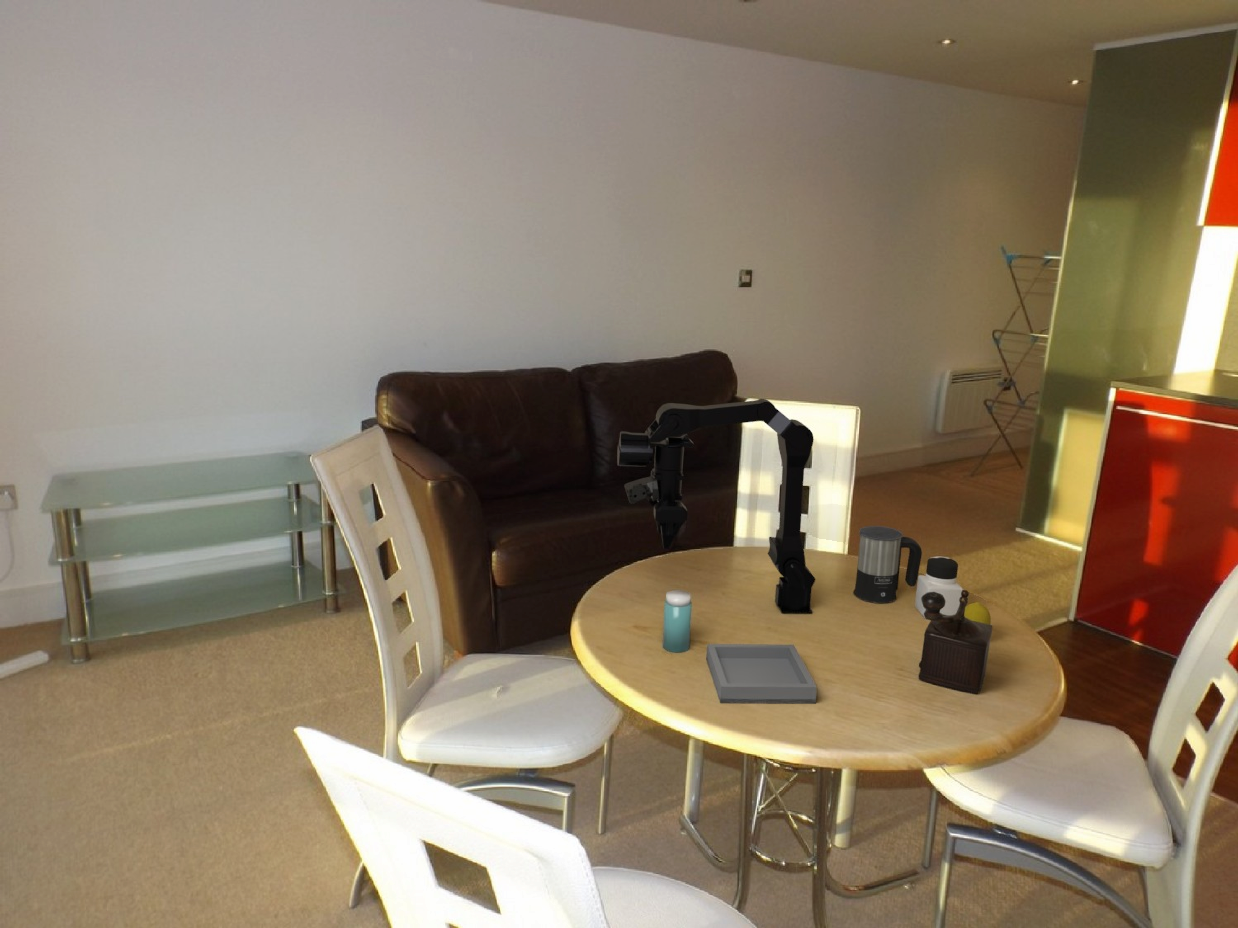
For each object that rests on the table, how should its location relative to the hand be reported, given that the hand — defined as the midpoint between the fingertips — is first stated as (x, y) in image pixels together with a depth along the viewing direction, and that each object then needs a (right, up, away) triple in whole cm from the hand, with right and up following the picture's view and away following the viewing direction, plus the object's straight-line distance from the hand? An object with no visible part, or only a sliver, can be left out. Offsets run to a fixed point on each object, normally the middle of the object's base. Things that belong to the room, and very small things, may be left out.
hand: (663, 541), depth 181 cm
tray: (+15, -22, -26) cm, 38 cm away
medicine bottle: (+58, -16, +5) cm, 60 cm away
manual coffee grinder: (+49, -23, -24) cm, 59 cm away
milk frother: (+48, -13, +18) cm, 53 cm away
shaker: (+2, -19, -14) cm, 24 cm away
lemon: (+60, -19, -7) cm, 64 cm away
